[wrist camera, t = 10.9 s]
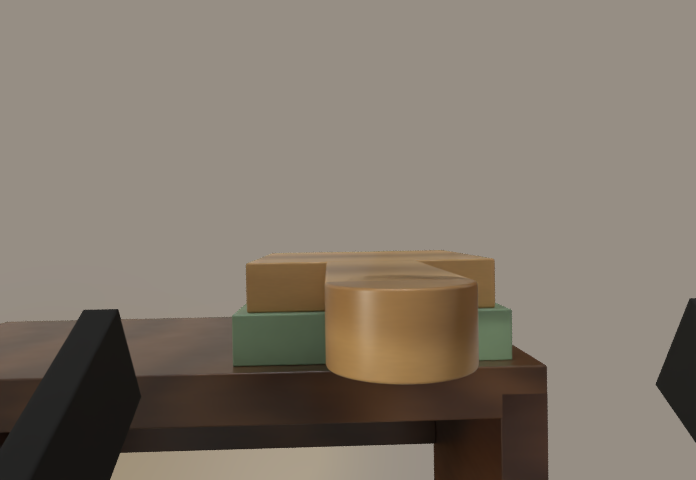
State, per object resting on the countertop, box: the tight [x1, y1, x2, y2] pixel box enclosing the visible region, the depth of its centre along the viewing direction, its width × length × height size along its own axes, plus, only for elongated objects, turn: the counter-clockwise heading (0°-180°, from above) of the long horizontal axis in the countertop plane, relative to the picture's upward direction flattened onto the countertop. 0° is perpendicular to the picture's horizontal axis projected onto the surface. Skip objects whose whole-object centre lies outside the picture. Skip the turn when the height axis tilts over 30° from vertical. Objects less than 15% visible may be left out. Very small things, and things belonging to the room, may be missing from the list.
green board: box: [232, 303, 512, 367], centre depth 28 cm, size 11×12×2 cm
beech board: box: [246, 250, 495, 385], centre depth 22 cm, size 21×10×2 cm, turn 2°
